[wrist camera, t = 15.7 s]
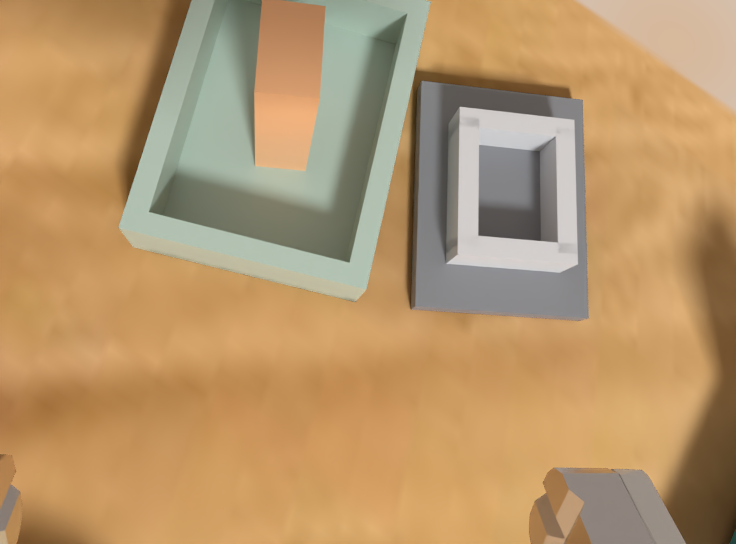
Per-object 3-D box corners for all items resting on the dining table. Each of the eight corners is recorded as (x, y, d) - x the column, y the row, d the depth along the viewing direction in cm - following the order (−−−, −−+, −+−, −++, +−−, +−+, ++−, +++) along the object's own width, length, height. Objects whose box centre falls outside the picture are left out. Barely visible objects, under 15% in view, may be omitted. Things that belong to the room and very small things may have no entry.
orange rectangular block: (255, 166, 33) (254, 91, 25) (261, 91, 34) (262, -3, 26) (305, 171, 34) (319, 98, 26) (310, 97, 34) (325, 6, 27)
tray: (133, 247, 32) (118, 227, 29) (216, -19, 36) (212, -64, 32) (355, 301, 33) (366, 289, 30) (414, 39, 37) (430, 1, 33)
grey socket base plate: (410, 309, 34) (425, 299, 31) (417, 89, 36) (431, 61, 33) (579, 320, 35) (608, 312, 32) (574, 108, 37) (600, 82, 35)
